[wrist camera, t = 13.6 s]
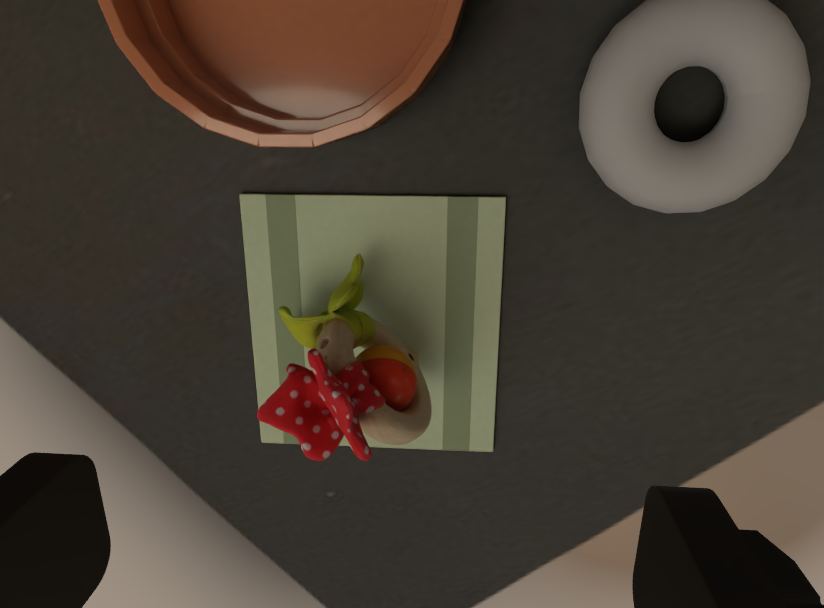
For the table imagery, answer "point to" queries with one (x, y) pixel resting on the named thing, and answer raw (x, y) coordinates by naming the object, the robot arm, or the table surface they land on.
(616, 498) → the table surface
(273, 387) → the towel
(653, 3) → the donut
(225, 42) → the pan
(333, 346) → the bird rattle
